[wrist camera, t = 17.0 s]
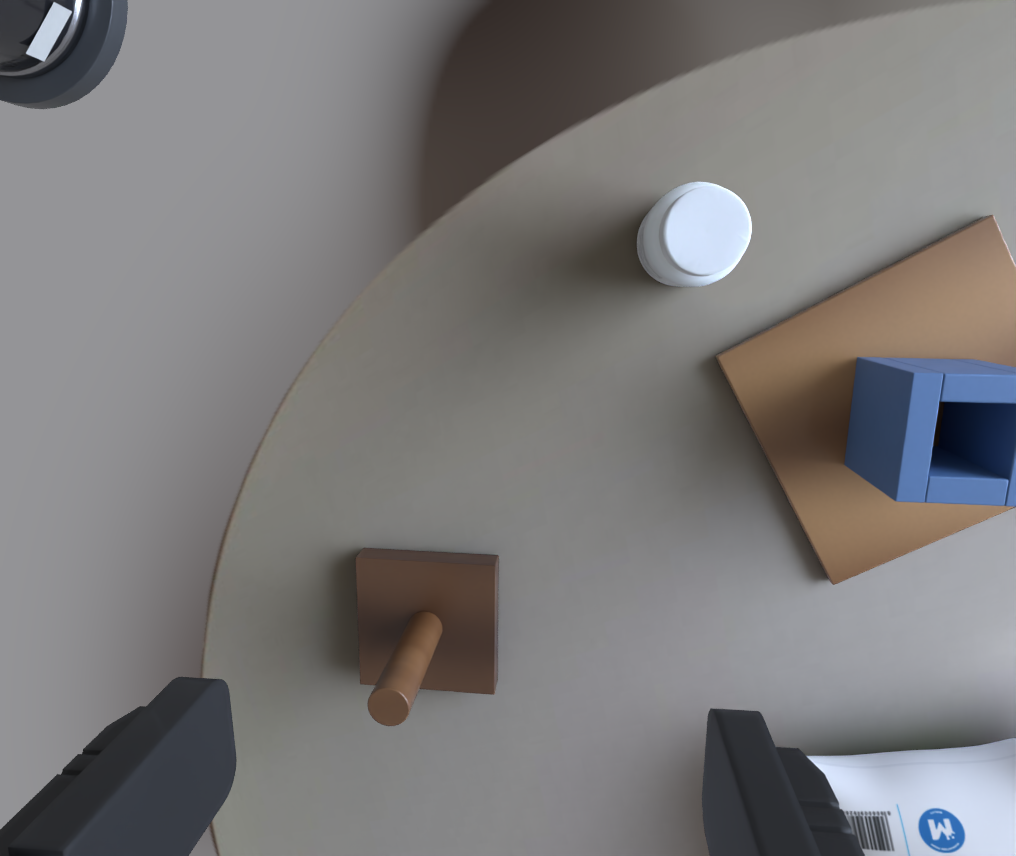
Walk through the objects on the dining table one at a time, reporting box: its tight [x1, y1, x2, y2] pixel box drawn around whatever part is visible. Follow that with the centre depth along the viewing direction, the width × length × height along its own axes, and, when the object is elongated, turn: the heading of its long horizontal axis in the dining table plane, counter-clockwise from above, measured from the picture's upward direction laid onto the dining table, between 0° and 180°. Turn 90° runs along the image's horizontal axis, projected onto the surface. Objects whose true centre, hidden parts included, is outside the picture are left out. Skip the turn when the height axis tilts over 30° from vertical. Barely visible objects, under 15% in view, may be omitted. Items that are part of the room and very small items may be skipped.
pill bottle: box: [637, 182, 752, 287], centre depth 30 cm, size 4×4×8 cm
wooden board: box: [716, 215, 1016, 585], centre depth 34 cm, size 14×14×1 cm
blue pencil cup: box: [844, 357, 1016, 507], centre depth 31 cm, size 6×6×6 cm
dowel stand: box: [355, 548, 499, 726], centre depth 36 cm, size 8×8×9 cm
